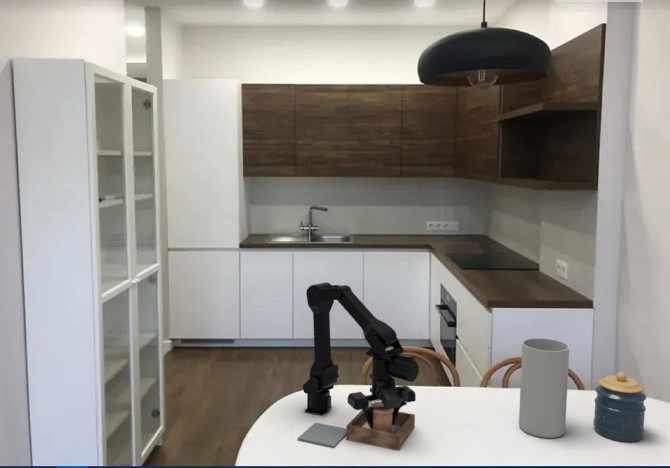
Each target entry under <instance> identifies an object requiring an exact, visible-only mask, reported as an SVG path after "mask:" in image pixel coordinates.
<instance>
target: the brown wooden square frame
mask: <svg viewBox="0 0 670 468" xmlns="http://www.w3.org/2000/svg"><path fill="white" fill-rule="evenodd" d="M366 423H368V422H367V419H366V416H365V414H364V412H363V410H362V409H361V410H359V413H357V414H356V415H355V416H354V417H353V419H351V421H350V422H349V423H347V424H346V428H345V429H346V436H345V437H346V440H347V441H352V442H355V443H356V442H357V443H361V444H366V445H370V446H376V447H380V448H385V449H390V450H394V451H399V450H400V449H402V447H403V445H404V444H405V442H406V440H407V439H408V438H409V437H410V435H411V433H412V432H413V431H414V429H415V428H416V427H415V426H416V424H415V423H416V414H414V413H409V412H403V411H399V412H398V414H397V416H396V419H395V421H394V424H393V425H392V426H395V427H400V428H399V429H398V431H397V432H396V433H394V432H392V433H390V432H385V431H380V430H375V429H371V428H370V427H363V426H365V424H366Z"/></svg>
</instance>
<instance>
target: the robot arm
mask: <svg viewBox="0 0 670 468" xmlns="http://www.w3.org/2000/svg"><path fill="white" fill-rule="evenodd" d="M305 293H306V294H305V295H306V301H307V306H308V307H309V309H310V311H311V313H312V319H313V320H312V321H313V345H314V346H313V348H314V352H313V353H314V359H313V362H312V364H311V367H310V370H309V379H308V380H307V381H306V382H304V384H302V390H303V394H306V395H307V396H306V397H307V400H306V401H307V402H306V408H305V409H304V412H305V413H310V414H313V415H314V414H315V415H320V416H325V415H326V413H328V412H329V411H331V409H333V406H332V396H331V392H330V391H331V390H333V389H334V388H335V387H334V386H335V384H336V383H338V378H339V377H340V376H339V364H336V363H334V361H333V360H332V352H331V325H330V324H331V322H330V321H331V320H330V319H331V318H330V315H331V314H330V312H331V310H332V308H333V306H334V304H335V303H334V302H335V301H337V302H338V303H339V304H340V306H341V307H343V309H345V311H346V312H347V313H348V314H349V315H350V316H351V318H352V319H353V320H354V321H355V323H356V324H357V325H358V326H359V327H360V328H361V330H362V332H363V336H364V339H365V341H366V342H367V343H368V346H369V347H370V349H369V350H368V351H366V352H365V356H370V357H372V358H371V373H370V374H369V378H370V379H371V387H370V388H369V392H370V393H371V394H367V395H365V394H364V393H363V392H362V391H357V392H356V391H355V392H351V393H349V394H348V396H347V404H348V405H349V406H350V407H351V408H352V409H353V410H355V411H361V410H363V412H364V414H365V416H366V419H367V422H366V423H367V424H368V426H369V427H368V428H370V429H372V428H373V410H374V408H373V407H372V406H371V403H373V402H379V401H381V402H382V403H383V405H384V407H385V408H386V409H391V408H394V412H393V413H392V426H394V425H393V424H394V421H395V419H396V416H397V414H398V412H400V410H401V408H402V407H404V406H407V403H412V402H416V400H417V399H416V398H417V397H416V396H417V395H416V392H415V391H414V390H413V389H412V388H410V387H409V386H407V385H400V386H399V385H398V386H396V381H395V378H396V379H399V380H403V381H407V382H410V383H412V382H414V381H415V380H416V379H417V378H418V375H419V371H420V367H419V363H418V362H417V360H415V359H416V357H415V355H412V354H405V350H404V348H403V346H402V344H401V342H400V341H399V339H398V337H397V333H396V331H395V329H393V328H392V327H391V326H390V325H388V324H387V323H386V322H385V321H383V320H380V319H378V318H377V317H375V315H373V313H372V312H371V310H369V309H368V307H366V305H365V304H364V303H363V302H362V301H361V300H360V299H359V297H357V295H356V294H355V293H354V292H353V290H352V288H351V287H350V286H349V285H347V284H346V285H345V284H343V285H341V284H331V283H330V282H321V283H316V284H315V283H314V284H312V285H309V286H308V288H307V289H306V292H305ZM390 348H391V349H390ZM387 349H389V350H387Z"/></svg>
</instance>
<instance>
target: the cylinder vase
mask: <svg viewBox="0 0 670 468" xmlns="http://www.w3.org/2000/svg"><path fill="white" fill-rule="evenodd" d="M521 343H522V344H521V346H522V347H521V365H520V366H521V368H520V389H519V390H520V392H519V411H518V412H519V414H518V425H519V428H520V429H521V430H522V431H523V432H524V433H526V434H529V435H531V436H533V437H536V438H537V437H538V438H545V439H553V438H555V439H556V438H558V437H562V436H563V435H564V434H565V432H566V422H567V420H566V419H567V402H568V401H567V399H568V382H569V380H568V379H569V363H570V362H569V361H570V360H569V359H570V346H569V344H568V343H565V342H563V341H560V340H557V339H556V340H555V339H550V338H543V337H542V338H541V337H537V338H536V337H535V338H526V339H524V340H522V342H521Z"/></svg>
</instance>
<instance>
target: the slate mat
mask: <svg viewBox="0 0 670 468" xmlns="http://www.w3.org/2000/svg"><path fill="white" fill-rule="evenodd" d="M346 429H347V428H345V427H340V426H337V425H335V426H334V425H330V424H325V423H320V422H314V423H313V424H311V426H309V427H308V428H307V429H306V430H305V431H304V432H303V433H302V434H300V435H299V436H298V437H297V441H300V442H305V443H308V444H313V445H317V446H322V447H326V448H331V449H335V448H336V447H337V446H338V445H339V444H340V443H341V442H342V440H344V438H345V437H346Z"/></svg>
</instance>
